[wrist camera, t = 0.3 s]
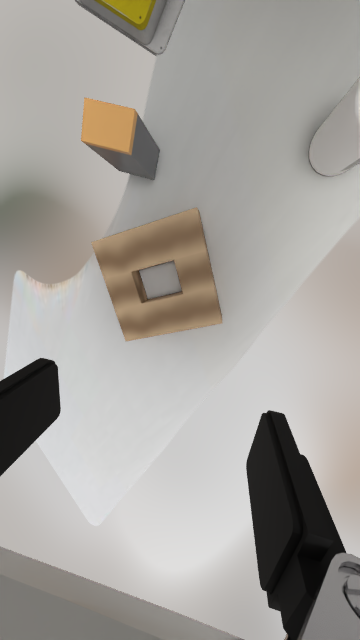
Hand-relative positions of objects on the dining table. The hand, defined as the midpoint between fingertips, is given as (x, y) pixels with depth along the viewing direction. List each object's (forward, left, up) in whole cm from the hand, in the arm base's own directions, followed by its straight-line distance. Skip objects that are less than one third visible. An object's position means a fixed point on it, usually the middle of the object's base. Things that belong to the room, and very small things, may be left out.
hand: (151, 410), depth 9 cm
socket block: (0, -8, -30) cm, 31 cm away
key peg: (-17, -16, -30) cm, 38 cm away
